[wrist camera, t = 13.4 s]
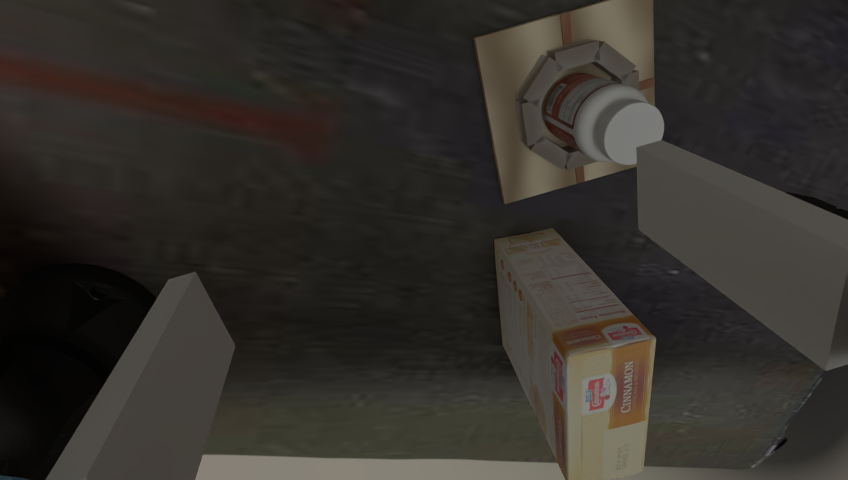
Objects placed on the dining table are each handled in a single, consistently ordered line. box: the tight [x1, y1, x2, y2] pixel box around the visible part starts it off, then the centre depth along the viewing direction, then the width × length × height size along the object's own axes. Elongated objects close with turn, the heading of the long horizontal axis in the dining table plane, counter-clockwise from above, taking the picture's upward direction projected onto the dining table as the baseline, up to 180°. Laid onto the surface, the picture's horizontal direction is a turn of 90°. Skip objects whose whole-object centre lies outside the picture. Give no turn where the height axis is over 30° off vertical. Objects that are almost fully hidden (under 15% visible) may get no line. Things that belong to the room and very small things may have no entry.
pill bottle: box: [543, 73, 664, 165], centre depth 40 cm, size 6×6×11 cm
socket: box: [472, 0, 655, 204], centre depth 45 cm, size 16×16×3 cm
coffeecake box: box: [494, 228, 656, 480], centre depth 46 cm, size 15×7×20 cm, turn 8°
